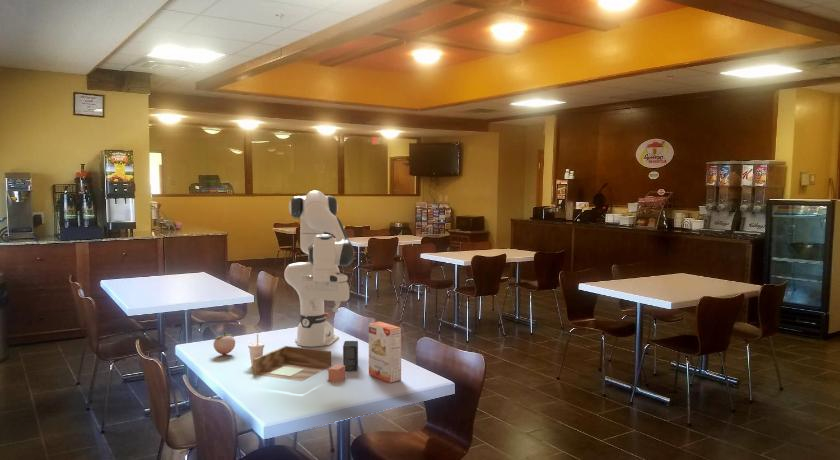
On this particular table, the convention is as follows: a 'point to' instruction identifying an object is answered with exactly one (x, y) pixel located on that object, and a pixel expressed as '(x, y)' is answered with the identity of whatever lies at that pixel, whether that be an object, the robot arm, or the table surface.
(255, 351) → the smoothie
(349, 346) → the box
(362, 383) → the table surface
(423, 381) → the table surface
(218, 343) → the decorative fruit
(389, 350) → the cracker box
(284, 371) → the pad
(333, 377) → the block
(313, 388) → the table surface
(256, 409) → the table surface
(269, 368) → the arena
